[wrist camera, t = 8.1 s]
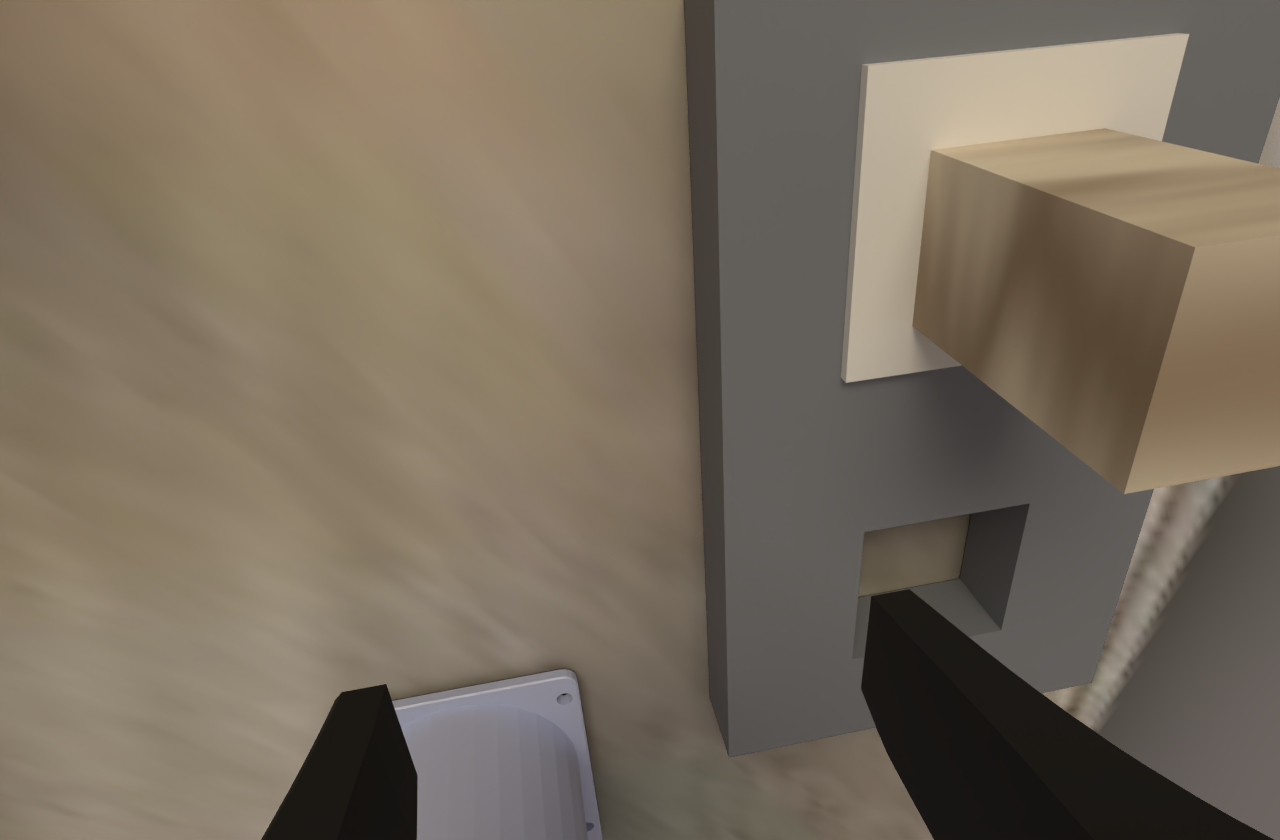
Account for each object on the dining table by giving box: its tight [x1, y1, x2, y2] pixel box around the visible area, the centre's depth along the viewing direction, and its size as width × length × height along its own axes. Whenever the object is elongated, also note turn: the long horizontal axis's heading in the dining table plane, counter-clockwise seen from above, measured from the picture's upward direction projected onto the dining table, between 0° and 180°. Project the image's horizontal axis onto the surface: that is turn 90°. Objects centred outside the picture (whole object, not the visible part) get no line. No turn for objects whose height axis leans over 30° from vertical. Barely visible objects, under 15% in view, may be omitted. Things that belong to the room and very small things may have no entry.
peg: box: [912, 128, 1280, 494], centre depth 14 cm, size 4×4×7 cm
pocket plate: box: [684, 0, 1280, 758], centre depth 22 cm, size 22×13×3 cm, turn 4°
